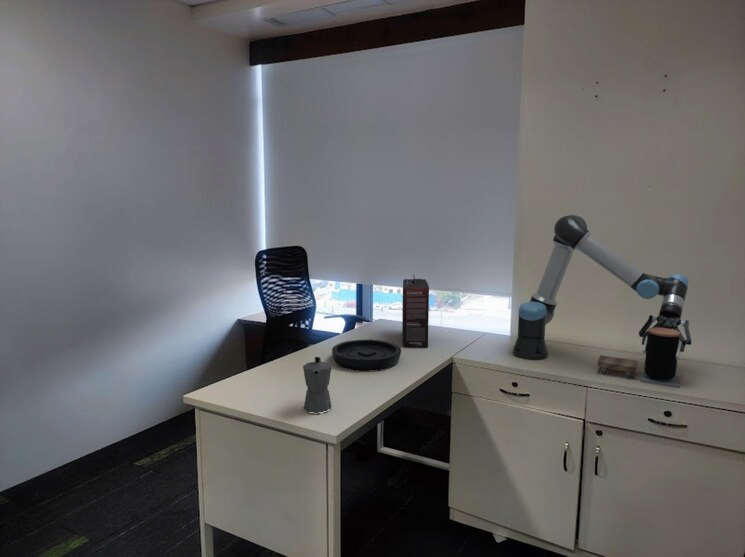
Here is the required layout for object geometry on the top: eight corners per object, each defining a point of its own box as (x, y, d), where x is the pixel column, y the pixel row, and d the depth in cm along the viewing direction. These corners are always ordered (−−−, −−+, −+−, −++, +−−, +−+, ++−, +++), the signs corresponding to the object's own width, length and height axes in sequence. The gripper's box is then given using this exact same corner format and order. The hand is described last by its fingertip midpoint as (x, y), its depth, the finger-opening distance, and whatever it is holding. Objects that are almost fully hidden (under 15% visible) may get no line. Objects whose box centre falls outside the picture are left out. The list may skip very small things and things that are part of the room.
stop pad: (640, 381, 191) (640, 379, 191) (640, 372, 201) (641, 370, 201) (679, 387, 185) (679, 386, 184) (678, 377, 195) (678, 376, 195)
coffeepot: (331, 417, 158) (330, 363, 155) (301, 417, 158) (300, 363, 155) (332, 398, 173) (332, 348, 170) (305, 398, 173) (304, 349, 170)
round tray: (365, 347, 236) (317, 361, 214) (365, 335, 235) (317, 348, 213) (414, 360, 215) (367, 378, 194) (415, 347, 214) (367, 363, 193)
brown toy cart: (596, 373, 199) (597, 361, 199) (599, 366, 208) (600, 355, 207) (635, 379, 193) (636, 367, 192) (636, 372, 201) (637, 360, 200)
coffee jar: (681, 380, 187) (686, 334, 185) (653, 380, 187) (658, 334, 185) (664, 370, 198) (669, 327, 195) (638, 370, 198) (642, 327, 195)
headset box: (401, 334, 258) (402, 271, 253) (425, 334, 257) (426, 271, 252) (402, 347, 234) (403, 279, 229) (428, 348, 233) (430, 279, 228)
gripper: (705, 318, 194) (696, 366, 184) (640, 309, 208) (628, 353, 199) (705, 307, 189) (695, 355, 179) (638, 299, 203) (626, 344, 194)
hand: (660, 354), depth 189 cm, fingers closed on coffee jar, 11 cm apart
